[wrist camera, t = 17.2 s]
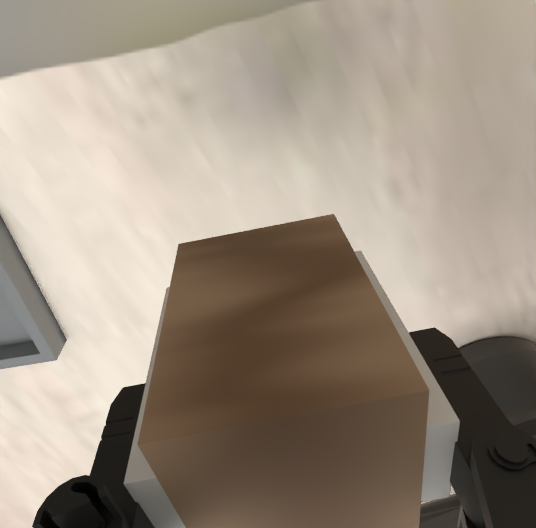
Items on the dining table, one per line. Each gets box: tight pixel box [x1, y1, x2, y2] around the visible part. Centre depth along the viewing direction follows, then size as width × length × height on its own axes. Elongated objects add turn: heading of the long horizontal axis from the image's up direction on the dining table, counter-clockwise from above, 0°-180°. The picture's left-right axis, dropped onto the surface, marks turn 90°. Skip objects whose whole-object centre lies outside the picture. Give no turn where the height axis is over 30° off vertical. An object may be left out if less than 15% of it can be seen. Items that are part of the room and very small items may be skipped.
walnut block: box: [137, 214, 429, 528], centre depth 11 cm, size 5×5×7 cm
